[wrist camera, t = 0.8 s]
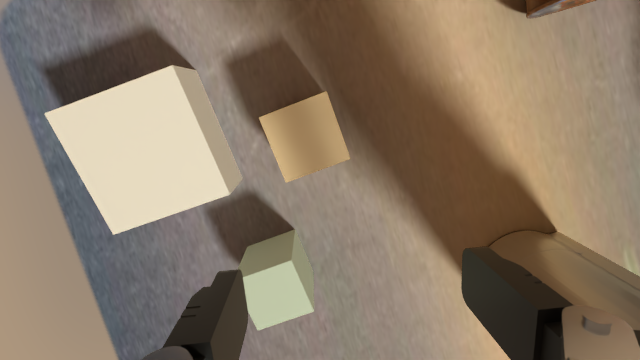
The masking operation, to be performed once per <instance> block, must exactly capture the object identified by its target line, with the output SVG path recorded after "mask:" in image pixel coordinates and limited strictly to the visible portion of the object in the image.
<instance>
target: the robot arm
mask: <svg viewBox="0 0 640 360" xmlns="http://www.w3.org/2000/svg"><path fill="white" fill-rule="evenodd" d="M462 294H463V298H464V301H465V303H466V304H467V306H468V307H469V308H470V310H471V311H472V312H473V313H474V315H475V316H476V317H477V318H478V320H479V321H480V322H481V323H482V325H483V326H484V327H485V328H486V330H487V331H488V332H489V333H490V334H491V336H492V337H493V338H494V339H495V341H496V342H497V343H498V344H499V346H500V347H501V348H502V349H503V351H504V352H505V353H506V354H507V356H508V357H509V358H510V359H511V360H640V277H639V276H638V275H636V274H634V273H632V272H630V271H629V270H627V269H625V268H623V267H621V266H619V265H618V264H616V263H614V262H612V261H610V260H609V259H607V258H605V257H603V256H601V255H600V254H598V253H596V252H594V251H592V250H591V249H589V248H587V247H585V246H583V245H581V244H580V243H578V242H576V241H574V240H572V239H571V238H569V237H567V236H565V235H563V234H562V233H560V232H555V233H552V234H544V233H541V232H537V231H527V230H526V231H518V232H514V233H511V234H508V235H505V236H504V237H502V238H500V239H498V240H497V241H495V242H494V243H493V244H492V245H490V246H489V247H476V248H466V249H465V250H464V251H463V257H462ZM247 323H248V308H247V302H246V295H245V288H244V282H243V275H242V272H241V270H240V269H239V270H228V271H219V272H218V273H217V275H216V277H215V279H214V281H213V283H212V285H211V287H203V288H202V289H201V290H199V291H198V292H197V293H196V294H195V295H194V296H192V298H191V299H190V301H189V303H188V305H187V306H186V309H185V310H184V311H183V313H182V315H181V318H180V319H179V320H178V322H177V324H176V325H175V327H174V329H173V330H172V332H171V334H170V336H169V337H168V339H167V341H166V343H165V344H164V346H163V348H161V349H159V350H156V351H154V352H152V353H150V354H148V355H147V356H145V357H144V358H142V359H141V360H239V356H240V352H241V348H242V345H243V341H244V337H245V333H246V329H247Z"/></svg>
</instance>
